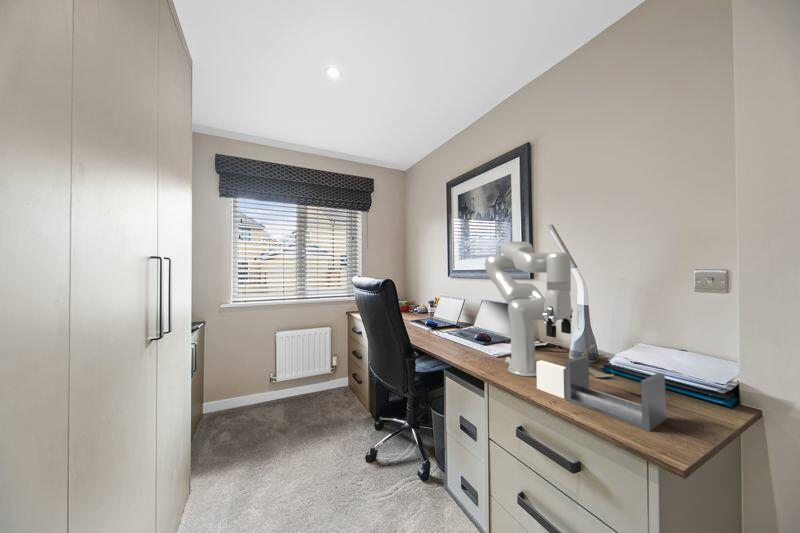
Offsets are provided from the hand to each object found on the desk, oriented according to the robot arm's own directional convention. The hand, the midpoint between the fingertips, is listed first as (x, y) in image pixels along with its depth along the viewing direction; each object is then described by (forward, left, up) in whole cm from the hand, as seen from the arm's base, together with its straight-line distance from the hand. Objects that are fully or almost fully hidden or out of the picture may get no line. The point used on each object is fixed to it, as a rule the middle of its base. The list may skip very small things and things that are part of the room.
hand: (558, 334), depth 100 cm
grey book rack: (+15, +3, -21) cm, 26 cm away
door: (-2, -1, -21) cm, 21 cm away
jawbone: (-5, +32, -21) cm, 39 cm away
